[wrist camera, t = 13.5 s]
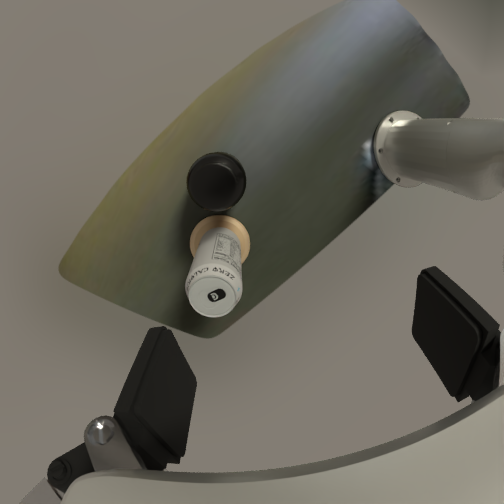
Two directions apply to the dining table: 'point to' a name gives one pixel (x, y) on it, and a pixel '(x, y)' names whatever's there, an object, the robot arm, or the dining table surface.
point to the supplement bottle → (216, 181)
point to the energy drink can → (215, 273)
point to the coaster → (222, 222)
